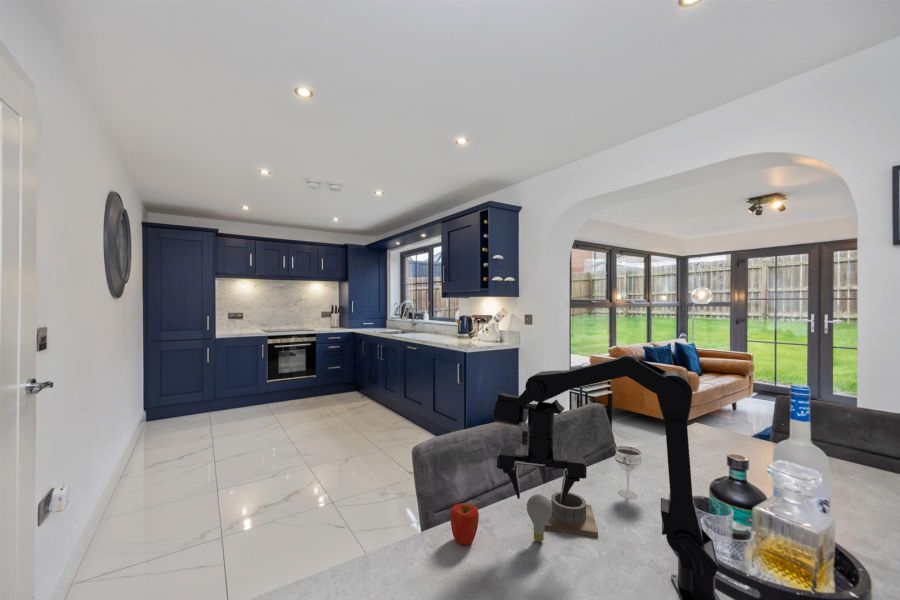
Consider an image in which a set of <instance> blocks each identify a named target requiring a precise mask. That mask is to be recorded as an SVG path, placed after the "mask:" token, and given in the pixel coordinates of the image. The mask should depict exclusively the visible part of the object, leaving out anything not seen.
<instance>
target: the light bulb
mask: <svg viewBox="0 0 900 600" xmlns="http://www.w3.org/2000/svg"><path fill="white" fill-rule="evenodd" d="M549 500H550V499H549V498H548V497H547V496H545V495H543V494H533V495H531V496H530V497H529V499H528V500H527V503H526V512H527V515H528V516H529V519H530V521H531V522H532V524H533V525H532V526H533V539H534V540H535V541H536V542H538V543H541V542H543V541H544V535H545V534H544V533H545V529H544V527H545V525H546V523H547V522H548V520H549V519H550V517H551V515H552V506H551V503H550V501H549Z"/></svg>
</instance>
